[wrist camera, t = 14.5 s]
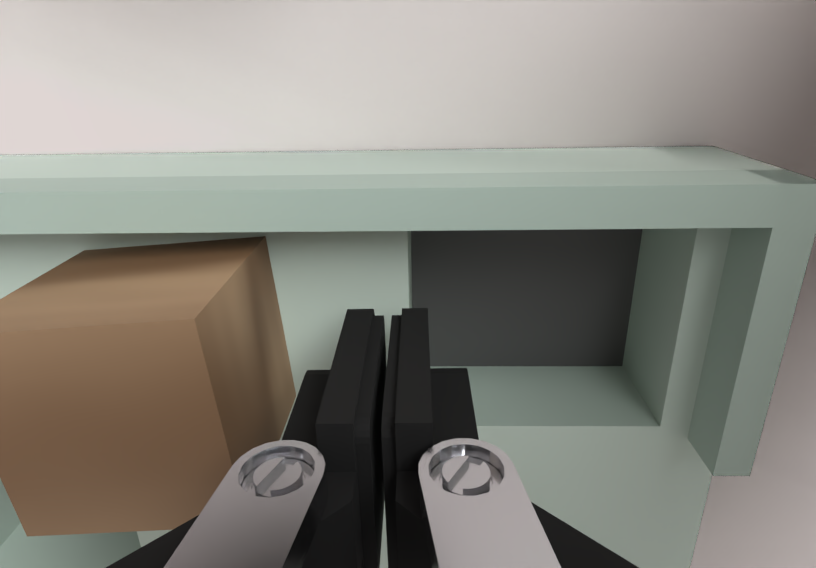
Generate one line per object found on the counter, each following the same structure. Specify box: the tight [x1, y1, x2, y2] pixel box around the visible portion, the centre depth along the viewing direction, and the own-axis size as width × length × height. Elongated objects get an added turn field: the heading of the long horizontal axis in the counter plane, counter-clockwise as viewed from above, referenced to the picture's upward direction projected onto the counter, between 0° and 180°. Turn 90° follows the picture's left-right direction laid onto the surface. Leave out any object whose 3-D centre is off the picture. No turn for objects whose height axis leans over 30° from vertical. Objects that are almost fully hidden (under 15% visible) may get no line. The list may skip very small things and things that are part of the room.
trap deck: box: [0, 146, 816, 568], centre depth 15 cm, size 13×22×4 cm, turn 91°
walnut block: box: [0, 236, 296, 537], centre depth 11 cm, size 4×4×4 cm
